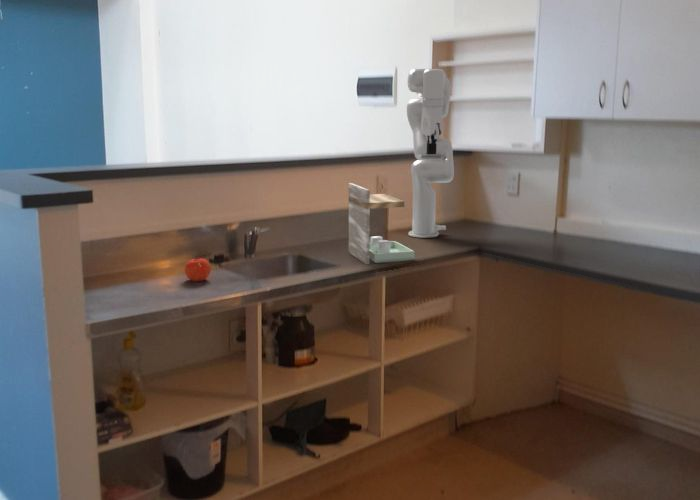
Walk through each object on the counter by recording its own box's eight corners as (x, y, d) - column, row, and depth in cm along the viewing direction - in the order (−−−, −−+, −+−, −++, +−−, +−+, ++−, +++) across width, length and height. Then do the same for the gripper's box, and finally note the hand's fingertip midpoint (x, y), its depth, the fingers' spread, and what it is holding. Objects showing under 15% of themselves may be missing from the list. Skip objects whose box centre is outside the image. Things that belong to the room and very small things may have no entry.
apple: (213, 281, 224) (212, 257, 223) (187, 284, 221) (186, 259, 220) (208, 276, 232) (206, 252, 230) (183, 278, 228) (181, 254, 227)
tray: (395, 249, 271) (395, 241, 270) (414, 260, 253) (414, 251, 253) (357, 251, 267) (357, 243, 266) (374, 263, 249) (374, 254, 248)
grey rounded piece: (380, 250, 266) (380, 235, 264) (384, 252, 262) (384, 238, 260) (368, 250, 264) (369, 236, 263) (372, 253, 260) (373, 238, 259)
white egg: (387, 254, 258) (387, 239, 257) (391, 257, 254) (392, 242, 253) (376, 255, 257) (376, 240, 256) (380, 258, 253) (380, 243, 252)
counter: (383, 250, 270) (384, 181, 265) (403, 261, 252) (404, 188, 246) (348, 252, 266) (348, 183, 260) (366, 264, 247) (366, 190, 242)
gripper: (415, 103, 267) (414, 152, 271) (431, 105, 253) (430, 156, 258) (433, 103, 269) (432, 151, 274) (450, 104, 255) (449, 155, 260)
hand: (431, 153), depth 266 cm, fingers closed
